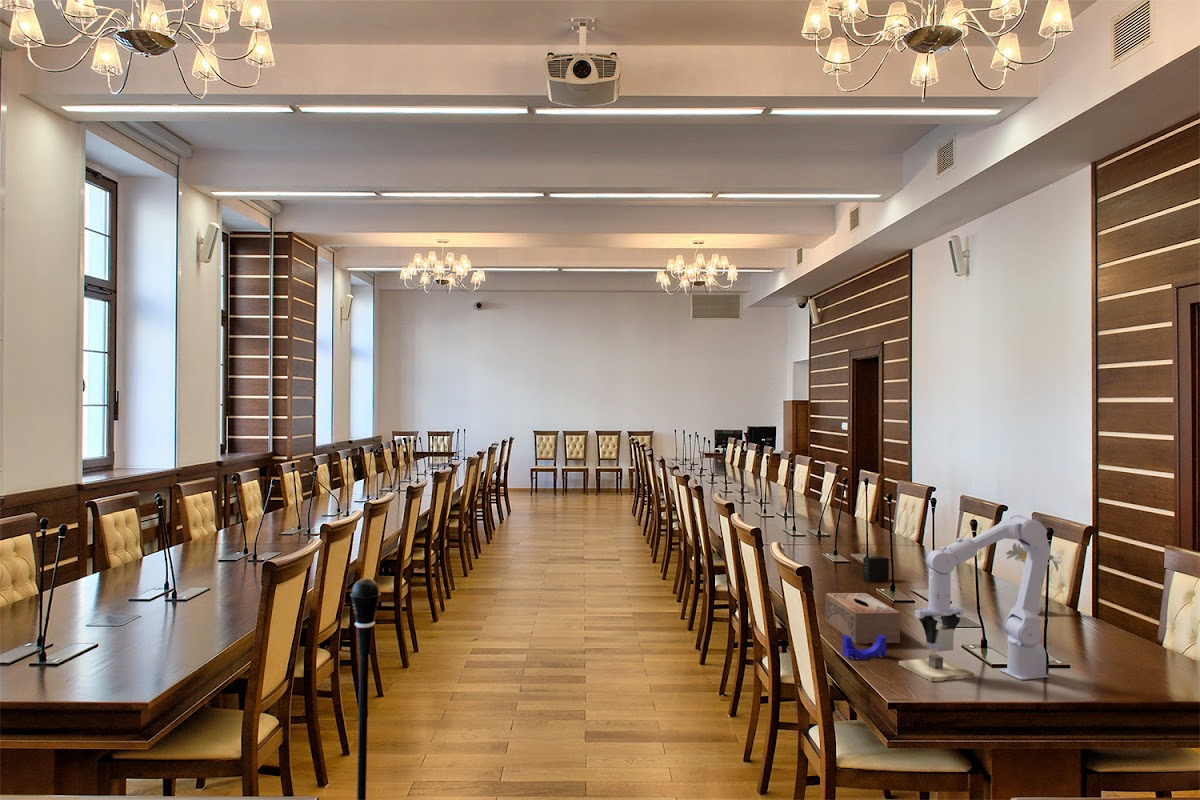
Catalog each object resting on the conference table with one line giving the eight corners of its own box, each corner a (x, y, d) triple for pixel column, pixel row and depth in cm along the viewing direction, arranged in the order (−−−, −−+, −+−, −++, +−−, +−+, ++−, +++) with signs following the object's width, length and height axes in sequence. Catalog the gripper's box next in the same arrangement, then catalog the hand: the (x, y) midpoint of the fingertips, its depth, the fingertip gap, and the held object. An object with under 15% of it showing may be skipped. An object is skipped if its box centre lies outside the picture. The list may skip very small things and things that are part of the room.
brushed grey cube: (940, 644, 223) (941, 623, 223) (953, 650, 218) (953, 629, 218) (925, 645, 222) (926, 624, 221) (938, 651, 217) (938, 630, 217)
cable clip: (848, 660, 230) (848, 639, 230) (842, 655, 235) (843, 635, 235) (888, 659, 231) (888, 639, 231) (881, 654, 235) (882, 635, 235)
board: (939, 661, 229) (939, 657, 229) (974, 677, 216) (974, 673, 216) (898, 665, 225) (898, 661, 225) (931, 681, 212) (931, 677, 212)
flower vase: (1066, 618, 279) (1067, 548, 279) (1010, 614, 283) (1011, 545, 283) (1053, 609, 292) (1054, 542, 292) (1000, 605, 295) (1001, 539, 296)
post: (936, 665, 222) (936, 654, 222) (942, 668, 220) (942, 657, 220) (928, 665, 221) (928, 655, 221) (935, 668, 219) (935, 658, 219)
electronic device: (862, 580, 337) (863, 557, 337) (882, 579, 340) (882, 556, 340) (869, 582, 333) (869, 558, 333) (888, 581, 336) (888, 557, 336)
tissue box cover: (899, 644, 246) (899, 612, 246) (855, 644, 245) (855, 613, 245) (865, 621, 272) (866, 593, 272) (825, 622, 271) (825, 593, 271)
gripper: (927, 598, 214) (926, 647, 214) (971, 595, 218) (970, 644, 218) (910, 592, 221) (909, 640, 221) (953, 590, 225) (952, 637, 225)
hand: (938, 641), depth 220 cm, fingers closed on brushed grey cube, 5 cm apart
